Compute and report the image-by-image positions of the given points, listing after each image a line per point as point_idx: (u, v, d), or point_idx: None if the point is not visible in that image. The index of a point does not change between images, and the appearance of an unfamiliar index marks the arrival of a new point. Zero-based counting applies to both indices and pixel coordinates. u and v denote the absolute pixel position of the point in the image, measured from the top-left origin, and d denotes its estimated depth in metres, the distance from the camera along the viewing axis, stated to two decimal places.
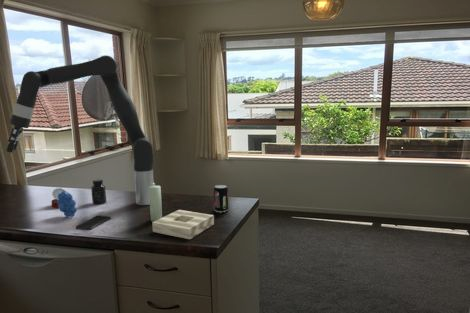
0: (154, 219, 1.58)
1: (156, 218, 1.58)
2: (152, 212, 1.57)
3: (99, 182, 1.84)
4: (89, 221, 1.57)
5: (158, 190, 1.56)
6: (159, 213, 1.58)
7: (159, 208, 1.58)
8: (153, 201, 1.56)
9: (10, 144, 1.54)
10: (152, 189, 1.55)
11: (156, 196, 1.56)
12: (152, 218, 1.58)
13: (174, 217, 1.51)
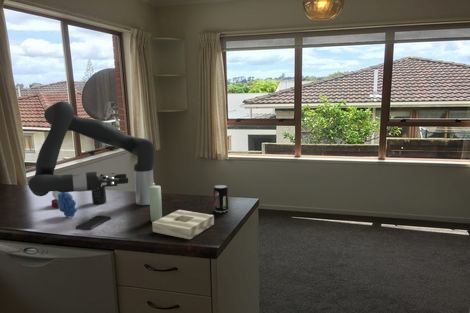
0: (154, 219, 1.58)
1: (156, 218, 1.58)
2: (152, 212, 1.57)
3: None
4: (89, 221, 1.57)
5: (158, 190, 1.56)
6: (159, 213, 1.58)
7: (159, 208, 1.58)
8: (153, 201, 1.56)
9: (119, 182, 1.47)
10: (152, 189, 1.55)
11: (156, 196, 1.56)
12: (152, 218, 1.58)
13: (174, 217, 1.51)
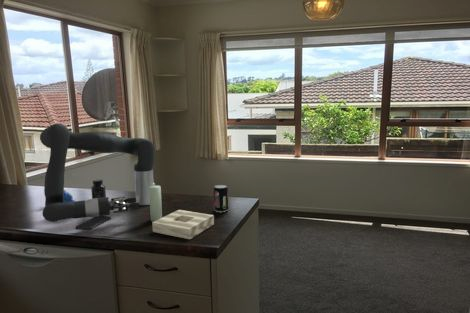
0: (154, 219, 1.58)
1: (156, 218, 1.58)
2: (152, 212, 1.57)
3: (99, 182, 1.84)
4: (89, 221, 1.57)
5: (158, 190, 1.56)
6: (159, 213, 1.58)
7: (159, 208, 1.58)
8: (153, 201, 1.56)
9: (130, 207, 1.50)
10: (152, 189, 1.55)
11: (156, 196, 1.56)
12: (152, 218, 1.58)
13: (174, 217, 1.51)
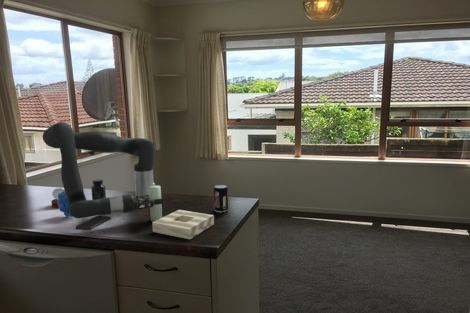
0: (154, 219, 1.58)
1: (156, 218, 1.58)
2: (152, 212, 1.57)
3: (99, 182, 1.84)
4: (89, 221, 1.57)
5: (158, 190, 1.56)
6: (159, 213, 1.58)
7: (159, 208, 1.58)
8: None
9: (155, 203, 1.55)
10: (152, 189, 1.55)
11: (156, 196, 1.56)
12: (152, 218, 1.58)
13: (174, 217, 1.51)
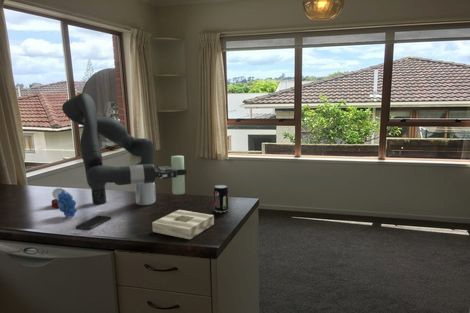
0: (176, 191, 1.45)
1: (179, 190, 1.45)
2: (174, 184, 1.45)
3: None
4: (89, 221, 1.57)
5: (181, 160, 1.44)
6: (182, 185, 1.46)
7: (182, 180, 1.45)
8: None
9: (178, 173, 1.43)
10: (175, 158, 1.43)
11: (179, 166, 1.44)
12: (174, 190, 1.45)
13: (174, 217, 1.51)
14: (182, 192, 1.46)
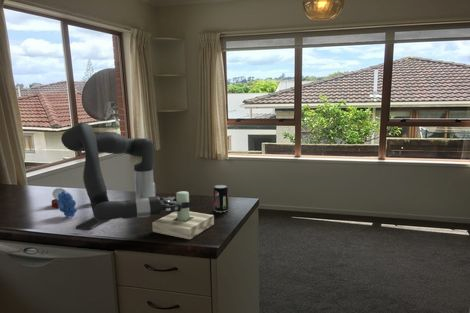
0: None
1: None
2: (180, 220, 1.47)
3: None
4: (89, 221, 1.57)
5: (186, 196, 1.46)
6: None
7: (187, 216, 1.47)
8: None
9: (182, 206, 1.43)
10: (180, 195, 1.45)
11: None
12: None
13: (174, 217, 1.51)
14: None
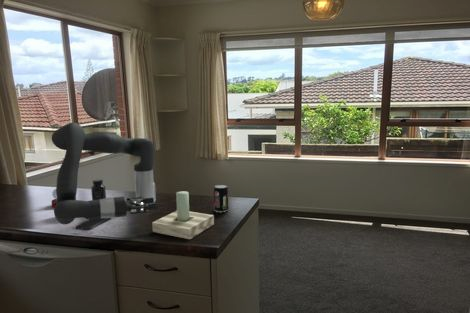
0: None
1: None
2: (180, 220, 1.47)
3: (99, 182, 1.84)
4: (89, 221, 1.57)
5: (186, 196, 1.46)
6: None
7: (187, 215, 1.47)
8: (181, 208, 1.46)
9: (149, 208, 1.38)
10: (180, 195, 1.45)
11: (184, 202, 1.46)
12: None
13: (174, 217, 1.51)
14: None
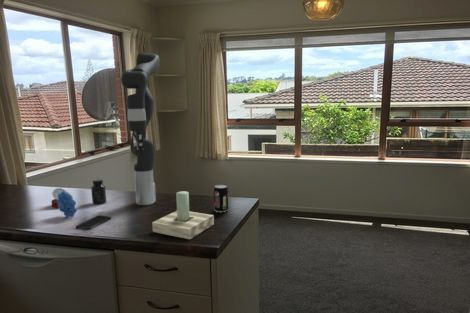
0: None
1: None
2: (180, 220, 1.47)
3: (99, 182, 1.84)
4: (89, 221, 1.57)
5: (186, 196, 1.46)
6: None
7: (187, 216, 1.47)
8: (181, 208, 1.46)
9: (140, 150, 1.51)
10: (180, 195, 1.45)
11: (184, 202, 1.45)
12: None
13: (174, 217, 1.51)
14: None
